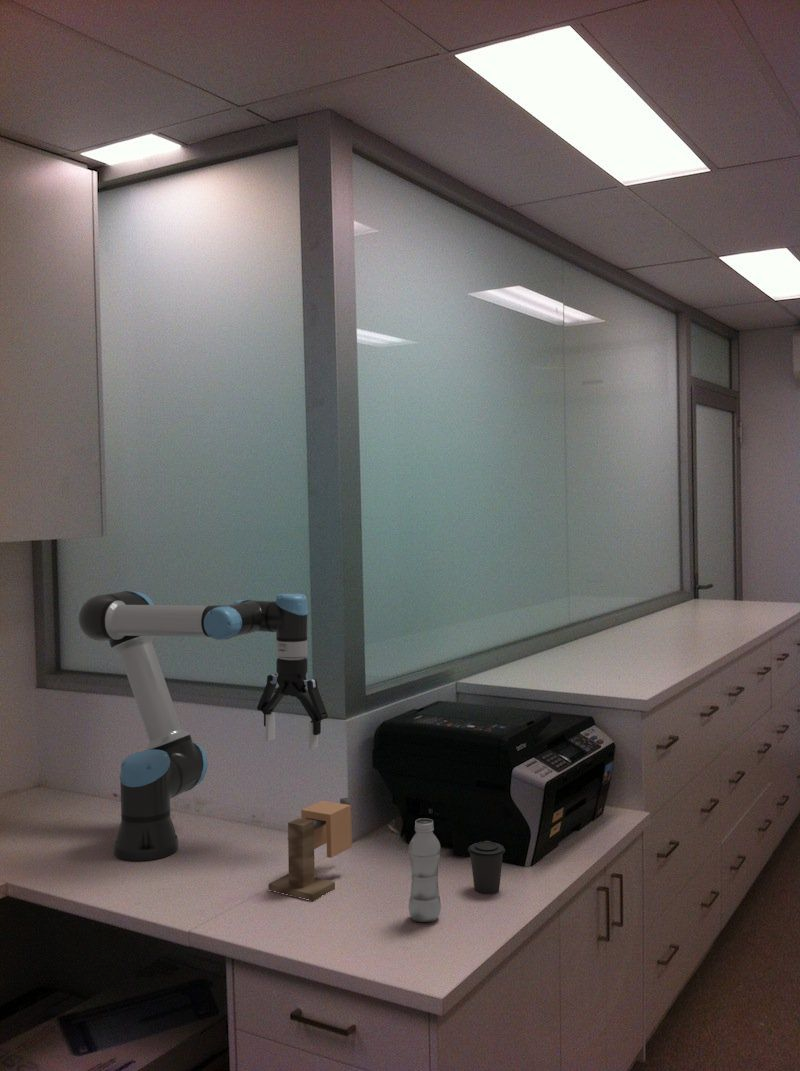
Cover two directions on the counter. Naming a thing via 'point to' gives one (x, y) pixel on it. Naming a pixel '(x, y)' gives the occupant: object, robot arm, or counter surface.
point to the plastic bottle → (424, 873)
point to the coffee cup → (486, 866)
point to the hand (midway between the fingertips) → (291, 744)
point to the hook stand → (303, 862)
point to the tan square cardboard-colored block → (331, 826)
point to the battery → (460, 845)
